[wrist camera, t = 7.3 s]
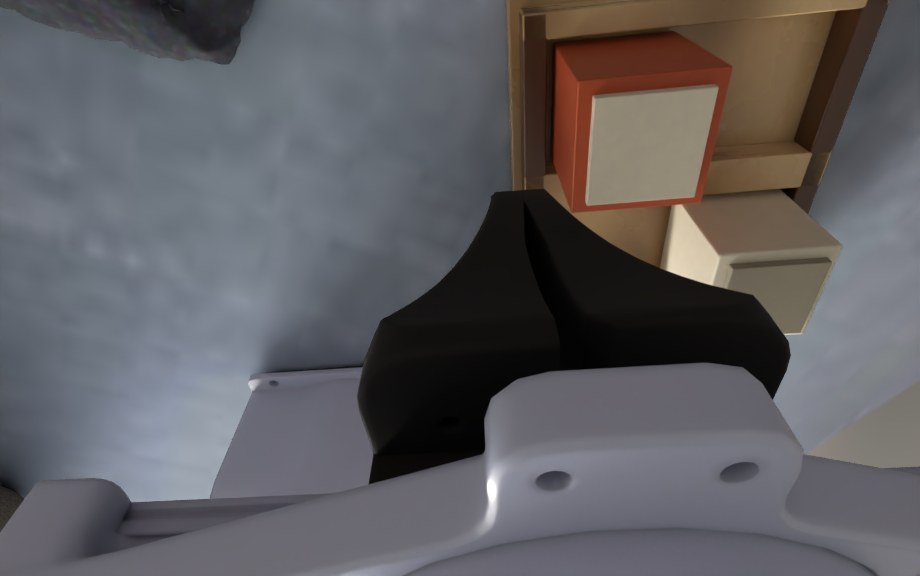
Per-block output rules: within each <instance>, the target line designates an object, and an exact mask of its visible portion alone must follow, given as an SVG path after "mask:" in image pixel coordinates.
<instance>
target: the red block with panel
mask: <svg viewBox="0 0 920 576" xmlns="http://www.w3.org/2000/svg"><path fill="white" fill-rule="evenodd" d="M732 69H733V66H732V65H730V64H728V63H727V62H725V61H723V60H722V59H720V58H718V57H717V56H715V55H713V54H712V53H710V52H708V51H707V50H705V49H703V48H702V47H700V46H698V45H697V44H695V43H693V42H692V41H690V40H688V39H687V38H685V37H683V36H682V35H680V34H678V33H677V32H675V31H666V32H656V33H646V34H636V35H625V36H615V37H605V38H595V39H585V40H575V41H565V42H555V43H553V63H552V109H551V158H552V160H553V163H554V166H555V169H556V172H557V174H558V177H559V180H560V183H561V186H562V188H563V191H564V194H565V197H566V200H567V202H568V205H569V208H570V211H571V213H581V212H593V211H606V210H618V209H631V208H643V207H656V206H668V205H681V204H693V203H701V202H702V198H703V194H704V189H705V185H706V181H707V176H708V172H709V168H710V164H711V159H712V155H713V151H714V146H715V142H716V138H717V133H718V129H719V125H720V120H721V116H722V112H723V108H724V103H725V99H726V95H727V90H728V86H729V82H730V77H731V73H732Z"/></svg>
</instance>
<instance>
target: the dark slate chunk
mask: <svg viewBox="0 0 920 576" xmlns="http://www.w3.org/2000/svg"><path fill="white" fill-rule="evenodd" d="M253 3H254V0H0V7H3V8H6V9H11V10H15V11H17V12H18V13H20V14H22V15H23V16H25V17H27V18H29V19H31V20H33V21H36V22H39V23H42V24H45V25H48V26H51V27H53V28H57V29H61V30H66V31H73V32H78V33H81V34H83V35H86V36H88V37H91V38H95V39H101V40H109V41H123V42H124V43H126V44H127V45H128V46H129V47H130V48H132V49H135V50H137V51H140V52H143V53H146V54H149V55H152V56H155V57H159V58H164V57H166V58H173V59H176V60H180V61H184V60H189V59H194V58H197V59H201V60H204V61H211V62H215V63H218V64H229V63H230V62H231V61H232V60H233V58H234V56H235V54H236V51H237V48H238V46H239V43H240V30H241V27H242V26H243V25H244V24H245V23H246V22H247V20H248V18H249V16H250V14H251V11H252V8H253Z"/></svg>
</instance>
